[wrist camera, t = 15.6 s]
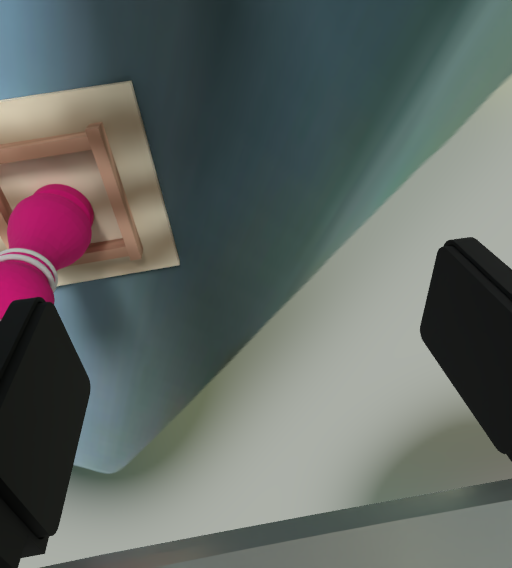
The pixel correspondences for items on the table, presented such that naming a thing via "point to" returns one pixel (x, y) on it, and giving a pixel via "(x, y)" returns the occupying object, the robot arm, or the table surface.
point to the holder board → (89, 174)
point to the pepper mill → (43, 242)
